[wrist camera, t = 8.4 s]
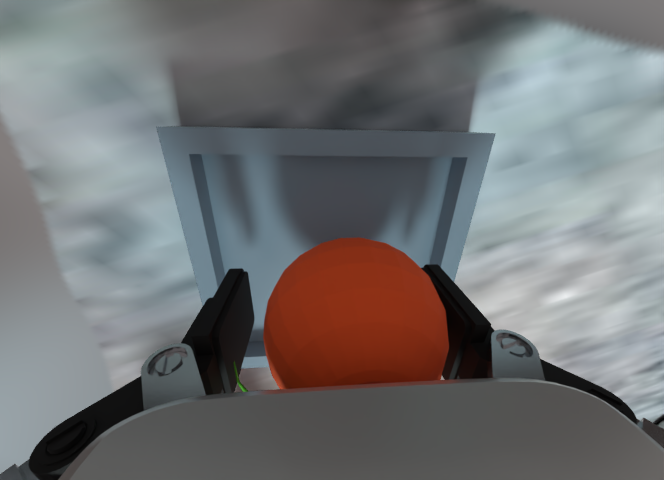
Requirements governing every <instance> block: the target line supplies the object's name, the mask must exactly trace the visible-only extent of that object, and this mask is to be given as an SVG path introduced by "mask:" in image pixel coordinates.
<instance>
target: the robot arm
mask: <svg viewBox="0 0 664 480" xmlns="http://www.w3.org/2000/svg"><path fill="white" fill-rule="evenodd" d="M421 269H422V270H423V271H424V272H425V273H426V274H427V275H428V276H429V277H430V279H431V281H432V283H433V285H434V287H435V289H436V291H437V293H438V296H439V298H440V300H441V302H442V304H443V306H444V308H445V310H446V319H447V329H448V341H449V350H448V354H447V357H446V361H445V365H444V368H443V372H442V376H443V377H444V379H445V380H434V381H415V382H396V383H378V384H360V385H343V386H326V387H310V388H294V389H278V390H262V391H249V392H237V393H233V392H234V391H235V388H236V384H237V380H236V374H235V369H234V361H235V365H236V369H237V373H238V377H239V374H240V370H241V367H242V363H243V360H244V357H245V353H246V350H247V346H248V343H249V339H250V336H251V332H252V329H253V325H254V310H253V303H252V296H251V290H250V283H249V276H248V272H247V271H244V270H243V269H242V268H235V269H229V270H228V272H227V274H226V275H225V277H224V279H223V281H222V282H221V284H220V286H219V288H218V289H217V291H216V293H215V295H214V297H213V298H208V299H207V300H206V302H205V304H204V305H203V307H202V309H201V310H200V312H199V314H198V315H197V317H196V319H195V320H194V322H193V324H192V325H191V327H190V329H189V330H188V332H187V334H186V335H185V337H184V339H183V340H182V342H181V343H176V344H171V345H168V346H165V347H163V348H161V349H159V350H157V351H156V352H155V353H153V354H152V355H151V356H150V357H149V358H148V359H147V360H146V361H145V363H144V364H143V366H142V370H141V376H140V377H139V378H137V379H135V380H134V381H132V382H130V383H128V384H127V385H125V386H123V387H122V388H120V389H118V390H116V391H115V392H113V393H111V394H110V395H108V396H107V397H105V398H103V399H101V400H99V401H98V402H96V403H94V404H92V405H91V406H89V407H87V408H86V409H84V410H82V411H80V412H79V413H77V414H75V415H74V416H72V417H70V418H69V419H67V420H65V421H64V422H62V423H61V424H59V425H58V426H56V427H55V428H54V429H52V430H51V431H50V432H49V433H48V434H47V435H46V436H44V438H43V439H42V440H41V441H40V442H39V443H38V445H37V446H36V447H35V449H34V450H33V452H32V454H31V456H30V459H29V460H28V461H26V462H25V463H23V464H22V465H20V466H19V467H18V466H17V465H16V464H14V465H12V466H11V467H10V468H8V469H7V470H5V471H4V472H3V473H1V474H0V480H664V420H663V421H662V422H660V423H659V424H658V425H656V424H654V423H652V422H650V421H649V420H647V419H645V418H643V419H642V420H641V421H640V420H638V419H636V417H635V414H634V413H633V411H632V410H631V409H630V408H629V407H628V405H626V404H625V403H624V402H623V401H622V400H621V399H620V398H618V397H617V396H615V395H614V394H613V393H611V392H609V391H608V390H606V389H604V388H602V387H600V386H598V385H596V384H593V383H591V382H589V381H587V380H585V379H583V378H580V377H578V376H576V375H574V374H572V373H570V372H567V371H565V370H563V369H561V368H559V367H557V366H554V365H552V364H550V363H548V362H546V361H544V360H541V359H540V357H539V353H538V351H537V349H536V347H535V346H534V345H533V344H532V343H531V342H530V341H529V340H528V339H526V338H525V337H523V336H521V335H519V334H517V333H515V332H512V331H508V330H496V331H494V330H493V328H492V327H491V323H490V322H489V321H488V320H487V319H486V318H485V317H484V316H483V314H482V313H481V312H480V311H479V310H478V309H477V308H476V307H475V305H474V304H473V303H472V302H471V301H470V300H469V299H468V298H467V296H466V295H465V294H464V293H463V292H462V291H461V290H460V289H459V287H458V286H457V285H456V284H455V283H454V282H453V281H452V280H451V278H450V277H449V276H448V275H447V274H446V273H445V272H444V271H443V269H442V268H441V267H440V266H439V265H438V264H426V265H424V267H422V268H421Z"/></svg>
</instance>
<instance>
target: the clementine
mask: <svg viewBox="0 0 664 480" xmlns="http://www.w3.org/2000/svg"><path fill="white" fill-rule="evenodd" d="M263 340H264V346H265V352H266V357H267V360H268V363H269V367H270V370H271V373H272V376H273V378H274V379H275V381H276V383H277V385H278V386H279V388H280V389H294V388H310V387H326V386H343V385H360V384H378V383H396V382H415V381H434V380H440V379H441V375H442V372H443V368H444V365H445V361H446V357H447V354H448V350H449V341H448V329H447V319H446V310H445V308H444V306H443V304H442V302H441V300H440V298H439V296H438V293H437V291H436V289H435V287H434V285H433V283H432V281H431V279H430V277H429V276H428V275H427V274H426V273H425V272H424V271H423V270H422V269H421V268H420V267H419V266H418V265H417V264H416V263H415V262H414V261H413V260H412V259H411V258H410V257H408V256H407V255H406V254H405V253H404V252H402V251H400V250H398V249H396V248H394V247H392V246H391V245H389V244H387V243H383V242H379V241H374V240H370V239H365V238H359V237H357V238H338V239H335V240H331V241H327V242H324V243H321V244H319V245H317V246H315V247H314V248H312V249H310V250H308V251H306V252H305V253H303V254H302V255H300V256H299V257H298V258H297V259H296V260H294V261H293V262H292V263H291V264H290V265H289V266H288V267H287V268H286V269H285V270H284V271H283V273H282V275H281V277H280V278H279V280H278V282H277V284H276V285H275V287H274V289H273V291H272V293H271V296H270V298H269V300H268V303H267V308H266V314H265V319H264V333H263ZM234 369H235V374H236V380H237V383H238V385H239V387H240V388H241V390H242V391H243V392H249V391H248V390H247V389H246V388H245V387H244V386H243V385H242V384H241V383H240V381H239V377H238V373H237V369H236V365H235V361H234Z"/></svg>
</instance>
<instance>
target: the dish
mask: <svg viewBox="0 0 664 480" xmlns="http://www.w3.org/2000/svg"><path fill="white" fill-rule="evenodd" d="M156 128H157V132H158V136H159V140H160V143H161V147H162V151H163V155H164V159H165V163H166V167H167V170H168V174H169V178H170V182H171V186H172V190H173V193H174V197H175V201H176V205H177V209H178V213H179V216H180V220H181V224H182V228H183V232H184V236H185V240H186V243H187V247H188V251H189V255H190V259H191V263H192V266H193V270H194V274H195V278H196V282H197V286H198V290H199V293H200V297H201V301H202V305H204V304H205V302H206V300H207V299H208V298H213V297H214V295H215V293H216V291H217V289H218V288H219V286H220V284H221V282H222V281H223V279H224V277H225V275H226V274H227V272H228V270H229V269H235V268H242V269H243V270H244V271H247V272H248V276H249V283H250V290H251V296H252V303H253V310H254V325H253V329H252V332H251V336H250V339H249V343H248V346H247V350H246V353H245V357H244V360H243V363H242V367H241V368H260V367H269V363H268V360H267V357H266V352H265V346H264V340H263V333H264V319H265V314H266V308H267V303H268V300H269V298H270V296H271V293H272V291H273V289H274V287H275V285H276V284H277V282H278V280H279V278H280V277H281V275H282V273H283V271H284V270H285V269H286V268H287V267H288V266H289V265H290V264H291V263H292V262H293V261H294V260H296V259H297V258H298V257H299V256H300V255H302V254H303V253H305V252H306V251H308V250H310V249H312V248H314V247H315V246H317V245H319V244H321V243H324V242H327V241H331V240H335V239H338V238H357V237H359V238H365V239H370V240H374V241H379V242H383V243H387V244H389V245H391V246H392V247H394V248H396V249H398V250H400V251H402V252H404V253H405V254H406V255H407V256H408V257H410V258H411V259H412V260H413V261H414V262H415V263H416V264H417V265H418V266H419V267H420V268H422V267H424V265H426V264H438V265H439V266H440V267H441V268H442V269H443V271H444V272H445V273H446V274H447V275H448V276H449V277H450V278H451V280H452V281H453V282H454V280H455V277H456V273H457V269H458V266H459V262H460V259H461V255H462V252H463V248H464V244H465V241H466V237H467V234H468V230H469V227H470V223H471V219H472V216H473V212H474V209H475V205H476V202H477V198H478V194H479V191H480V187H481V184H482V180H483V176H484V173H485V169H486V166H487V162H488V159H489V155H490V151H491V148H492V144H493V141H494V137H495V134H494V133H477V132H443V131H394V130H345V129H295V128H246V127H196V126H168V127H156Z"/></svg>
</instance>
